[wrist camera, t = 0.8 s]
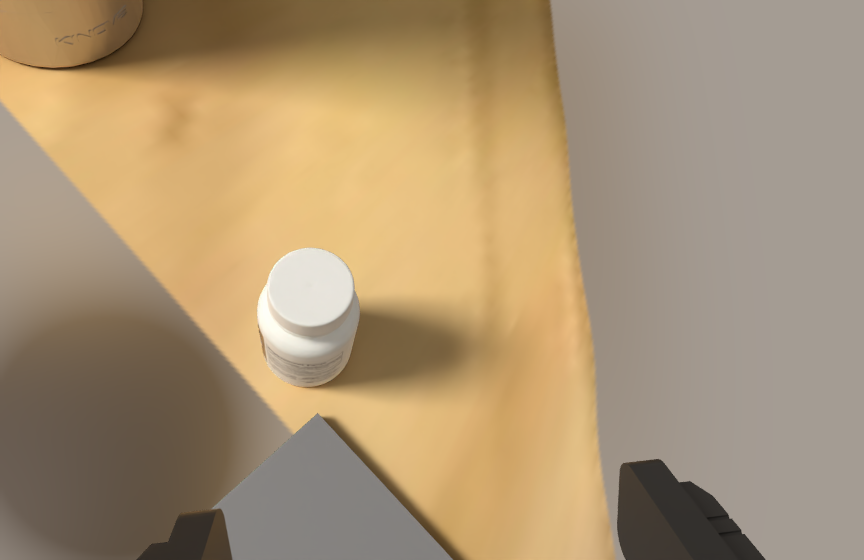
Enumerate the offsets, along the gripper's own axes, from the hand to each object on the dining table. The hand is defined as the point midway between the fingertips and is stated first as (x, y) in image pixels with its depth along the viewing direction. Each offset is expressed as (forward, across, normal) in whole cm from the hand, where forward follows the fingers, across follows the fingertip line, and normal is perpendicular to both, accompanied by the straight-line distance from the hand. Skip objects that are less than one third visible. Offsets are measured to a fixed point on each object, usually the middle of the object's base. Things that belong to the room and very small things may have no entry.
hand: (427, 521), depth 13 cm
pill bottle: (+20, +4, +5) cm, 21 cm away
